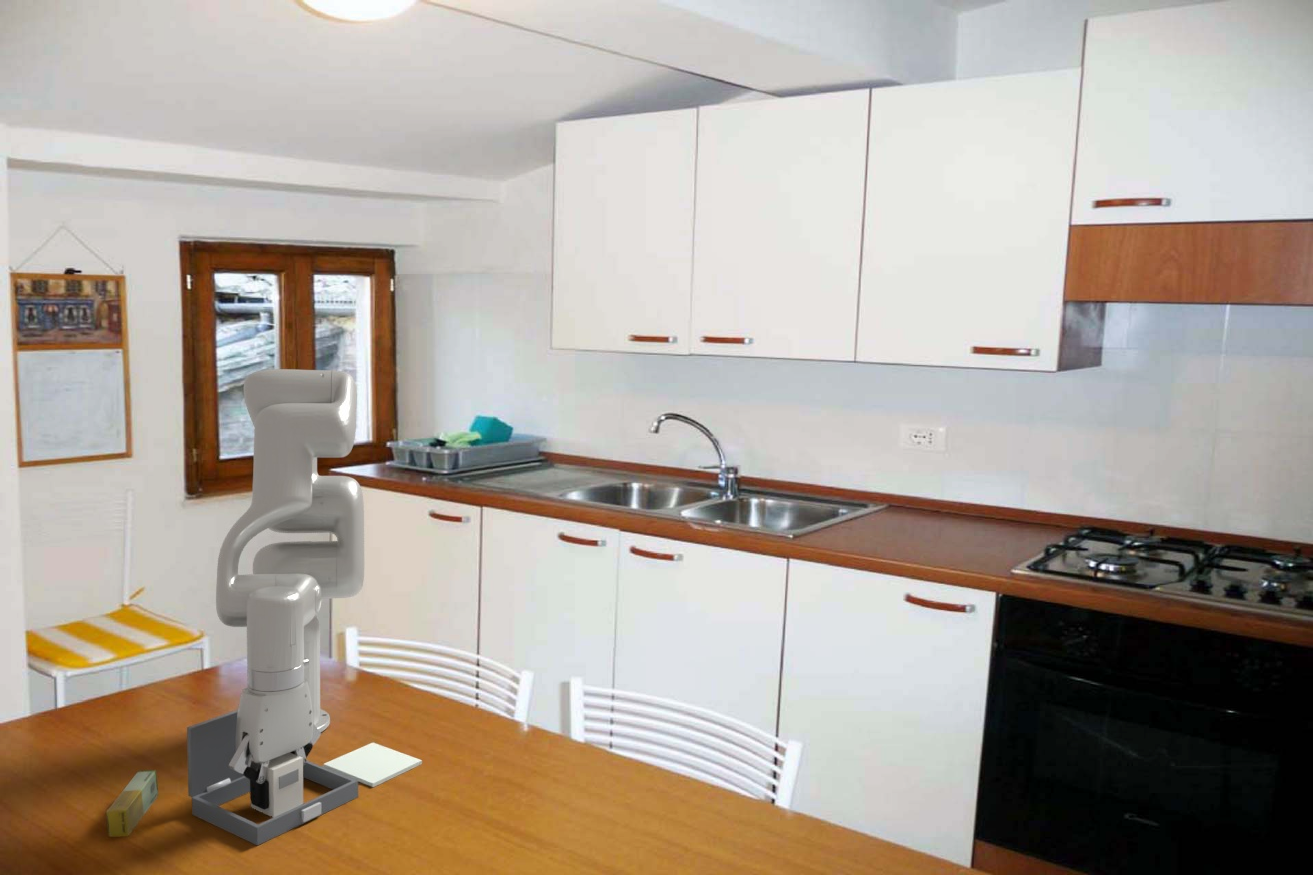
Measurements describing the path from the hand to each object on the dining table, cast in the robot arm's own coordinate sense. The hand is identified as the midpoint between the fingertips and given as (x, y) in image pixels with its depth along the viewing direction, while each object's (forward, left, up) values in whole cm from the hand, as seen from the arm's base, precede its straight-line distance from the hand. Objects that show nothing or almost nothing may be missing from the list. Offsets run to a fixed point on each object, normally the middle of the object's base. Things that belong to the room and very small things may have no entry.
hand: (277, 797), depth 151 cm
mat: (+1, +17, -1) cm, 17 cm away
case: (0, 0, -1) cm, 1 cm away
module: (0, 0, -1) cm, 1 cm away
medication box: (-13, -13, -2) cm, 19 cm away
